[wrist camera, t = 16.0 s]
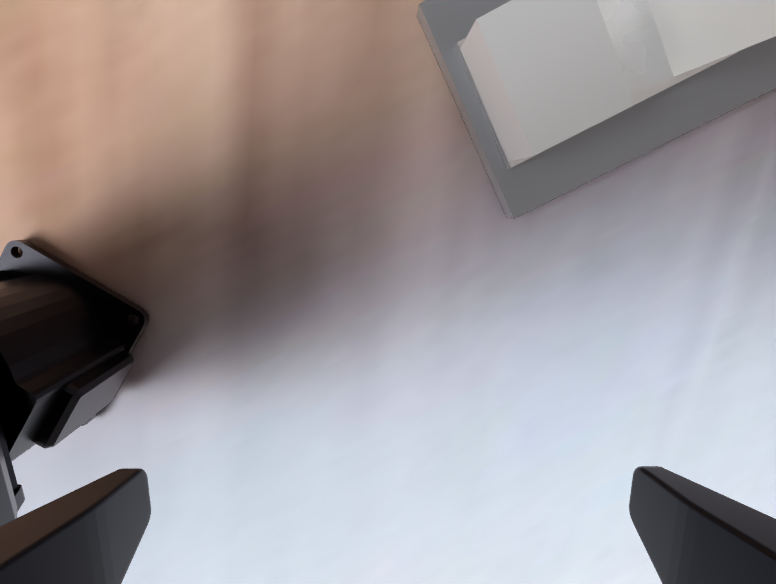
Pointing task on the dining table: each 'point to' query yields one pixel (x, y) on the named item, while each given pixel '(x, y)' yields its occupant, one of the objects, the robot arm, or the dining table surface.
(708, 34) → the block
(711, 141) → the dining table surface
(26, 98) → the dining table surface
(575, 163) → the rail board
